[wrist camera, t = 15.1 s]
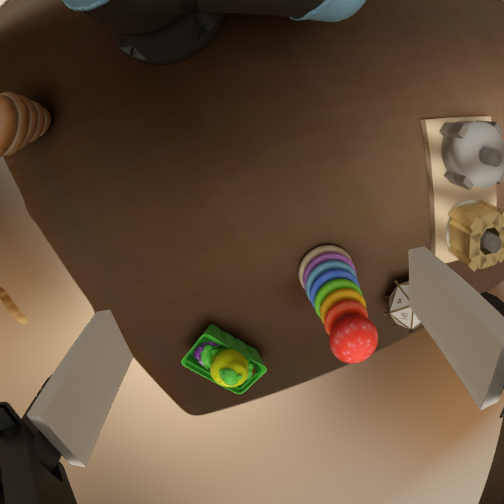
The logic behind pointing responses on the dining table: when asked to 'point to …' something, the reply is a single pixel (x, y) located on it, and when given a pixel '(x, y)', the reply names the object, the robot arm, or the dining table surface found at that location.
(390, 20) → the dining table surface
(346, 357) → the stacking toy
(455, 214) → the brass gear
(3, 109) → the cat ice cream
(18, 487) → the robot arm
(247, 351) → the fruit basket
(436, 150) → the gear board
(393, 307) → the game die
